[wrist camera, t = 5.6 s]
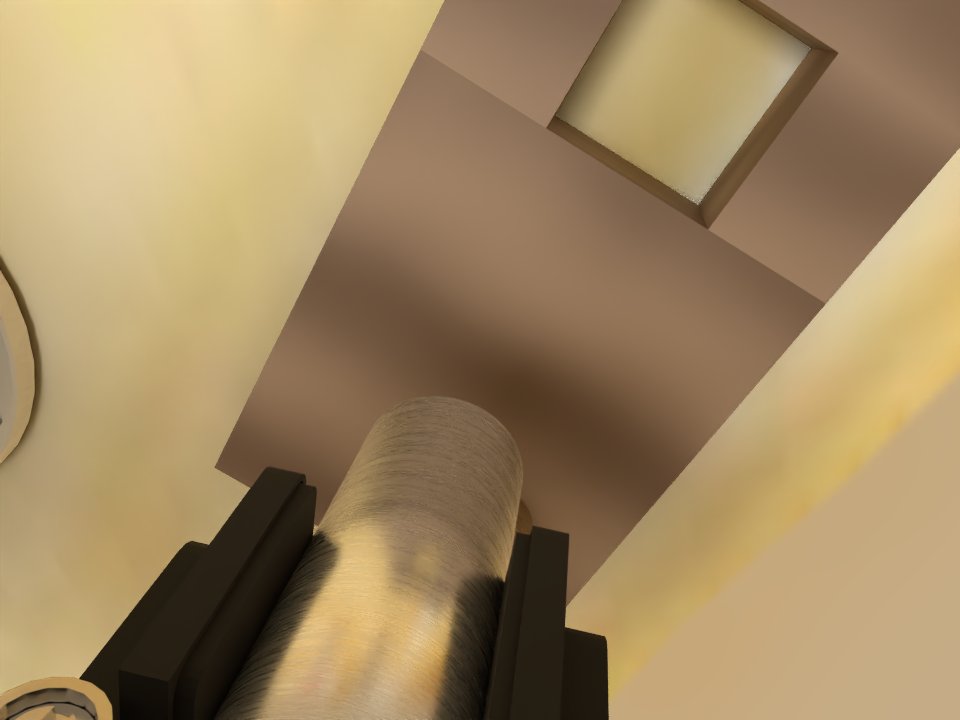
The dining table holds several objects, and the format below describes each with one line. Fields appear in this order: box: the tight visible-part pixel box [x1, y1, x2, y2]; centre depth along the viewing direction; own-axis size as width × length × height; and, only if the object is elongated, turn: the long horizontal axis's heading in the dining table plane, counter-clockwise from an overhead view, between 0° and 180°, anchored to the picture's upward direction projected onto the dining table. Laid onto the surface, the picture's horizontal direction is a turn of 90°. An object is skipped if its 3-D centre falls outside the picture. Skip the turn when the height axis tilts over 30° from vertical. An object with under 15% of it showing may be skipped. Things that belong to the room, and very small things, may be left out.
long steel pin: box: [213, 396, 523, 720], centre depth 10 cm, size 3×3×10 cm
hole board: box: [215, 0, 960, 606], centre depth 20 cm, size 20×11×2 cm, turn 150°
